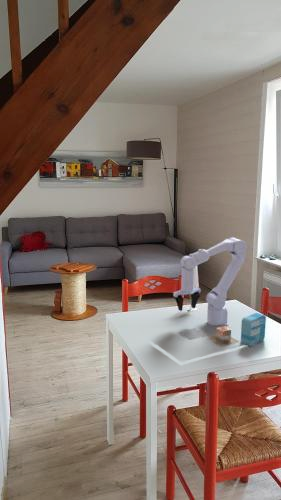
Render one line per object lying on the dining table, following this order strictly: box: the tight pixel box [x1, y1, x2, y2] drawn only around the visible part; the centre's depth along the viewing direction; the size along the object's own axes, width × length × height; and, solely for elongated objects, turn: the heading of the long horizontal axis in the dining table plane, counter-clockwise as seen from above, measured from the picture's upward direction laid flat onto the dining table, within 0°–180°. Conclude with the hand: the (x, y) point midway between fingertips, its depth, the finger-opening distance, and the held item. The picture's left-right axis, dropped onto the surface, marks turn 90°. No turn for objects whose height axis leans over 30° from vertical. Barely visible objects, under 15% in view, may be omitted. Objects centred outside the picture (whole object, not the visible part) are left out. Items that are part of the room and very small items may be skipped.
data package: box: [240, 312, 267, 347], centre depth 181 cm, size 12×4×12 cm, turn 131°
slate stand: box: [176, 327, 208, 341], centre depth 188 cm, size 10×10×1 cm
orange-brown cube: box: [215, 325, 232, 342], centre depth 181 cm, size 5×5×5 cm
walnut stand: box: [207, 335, 241, 347], centre depth 181 cm, size 10×10×1 cm
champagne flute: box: [187, 265, 200, 311], centre depth 222 cm, size 7×7×24 cm
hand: (186, 309), depth 197 cm, fingers open, 7 cm apart
